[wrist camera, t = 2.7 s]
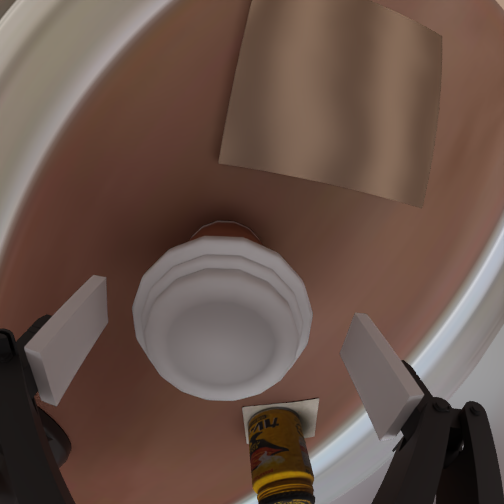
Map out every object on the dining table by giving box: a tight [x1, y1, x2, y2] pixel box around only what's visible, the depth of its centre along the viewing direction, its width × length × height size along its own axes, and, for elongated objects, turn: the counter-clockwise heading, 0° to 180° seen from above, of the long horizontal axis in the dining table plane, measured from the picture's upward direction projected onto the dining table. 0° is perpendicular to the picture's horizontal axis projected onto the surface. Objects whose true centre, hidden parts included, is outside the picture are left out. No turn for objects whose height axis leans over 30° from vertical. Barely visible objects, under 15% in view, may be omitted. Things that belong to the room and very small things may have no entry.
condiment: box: [242, 398, 319, 504], centre depth 25 cm, size 7×8×12 cm
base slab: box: [218, 0, 442, 208], centre depth 18 cm, size 15×15×4 cm
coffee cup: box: [132, 220, 313, 401], centre depth 18 cm, size 9×9×12 cm
